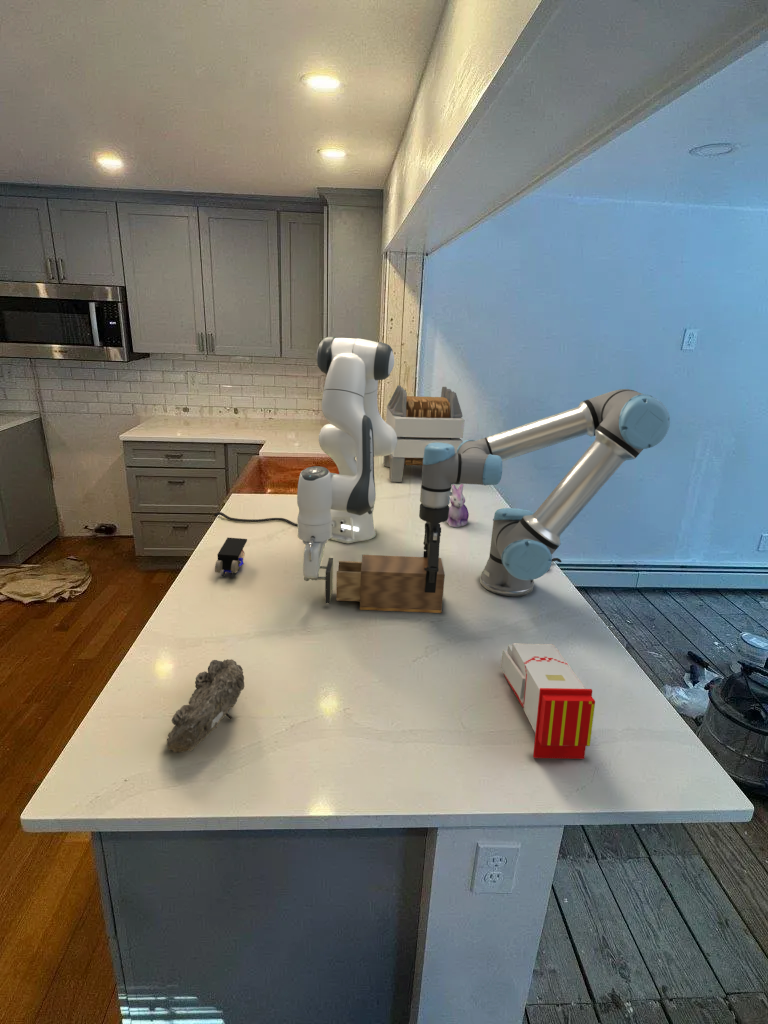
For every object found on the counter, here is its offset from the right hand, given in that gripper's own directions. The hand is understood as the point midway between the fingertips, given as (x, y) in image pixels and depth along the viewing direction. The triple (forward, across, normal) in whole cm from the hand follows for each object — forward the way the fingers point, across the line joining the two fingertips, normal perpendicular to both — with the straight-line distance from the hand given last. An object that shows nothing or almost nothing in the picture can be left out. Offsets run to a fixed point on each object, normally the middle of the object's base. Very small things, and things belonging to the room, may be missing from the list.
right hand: (428, 582), depth 152 cm
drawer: (+5, 0, +20) cm, 21 cm away
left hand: (0, 0, +30) cm, 30 cm away
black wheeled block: (+6, +15, +57) cm, 59 cm away
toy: (+6, -42, -19) cm, 47 cm away
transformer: (+6, +129, -5) cm, 129 cm away
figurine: (+6, +62, -16) cm, 64 cm away
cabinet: (+6, 0, +7) cm, 10 cm away
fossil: (+6, -48, +44) cm, 66 cm away
